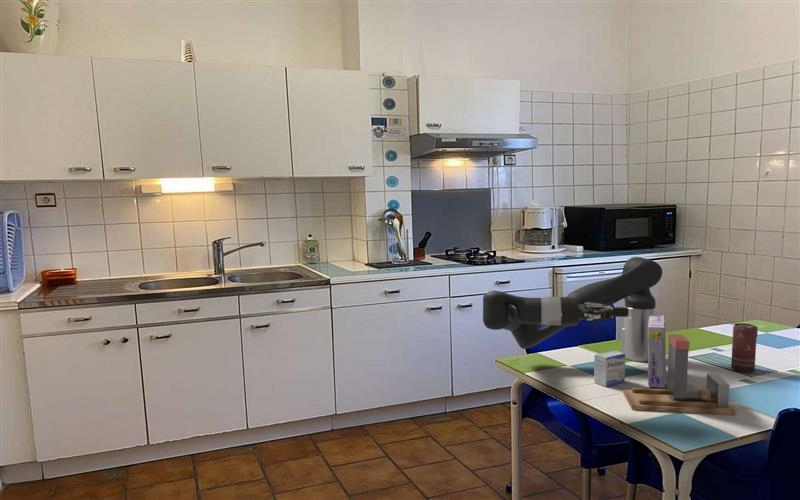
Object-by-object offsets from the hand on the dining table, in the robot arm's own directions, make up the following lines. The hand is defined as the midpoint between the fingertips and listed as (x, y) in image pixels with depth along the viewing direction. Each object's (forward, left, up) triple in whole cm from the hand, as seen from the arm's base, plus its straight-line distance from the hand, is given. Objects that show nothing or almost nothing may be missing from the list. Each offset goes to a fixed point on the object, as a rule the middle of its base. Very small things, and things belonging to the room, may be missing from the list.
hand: (627, 312), depth 143 cm
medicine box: (-12, +10, -25) cm, 29 cm away
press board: (+8, +10, -24) cm, 28 cm away
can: (+6, +51, -25) cm, 57 cm away
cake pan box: (-6, +24, -25) cm, 35 cm away
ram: (+9, +11, -23) cm, 27 cm away
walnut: (+13, +14, -23) cm, 30 cm away
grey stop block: (+15, +17, -23) cm, 32 cm away
